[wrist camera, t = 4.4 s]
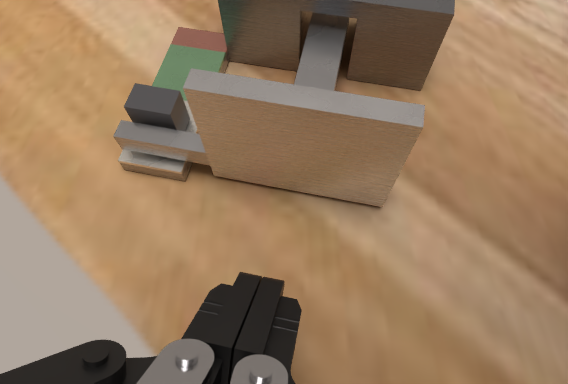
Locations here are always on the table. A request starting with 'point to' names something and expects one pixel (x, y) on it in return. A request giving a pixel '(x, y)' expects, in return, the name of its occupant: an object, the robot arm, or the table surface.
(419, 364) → the table surface
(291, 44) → the gauge base
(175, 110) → the block
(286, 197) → the table surface
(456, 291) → the table surface
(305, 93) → the push plate
